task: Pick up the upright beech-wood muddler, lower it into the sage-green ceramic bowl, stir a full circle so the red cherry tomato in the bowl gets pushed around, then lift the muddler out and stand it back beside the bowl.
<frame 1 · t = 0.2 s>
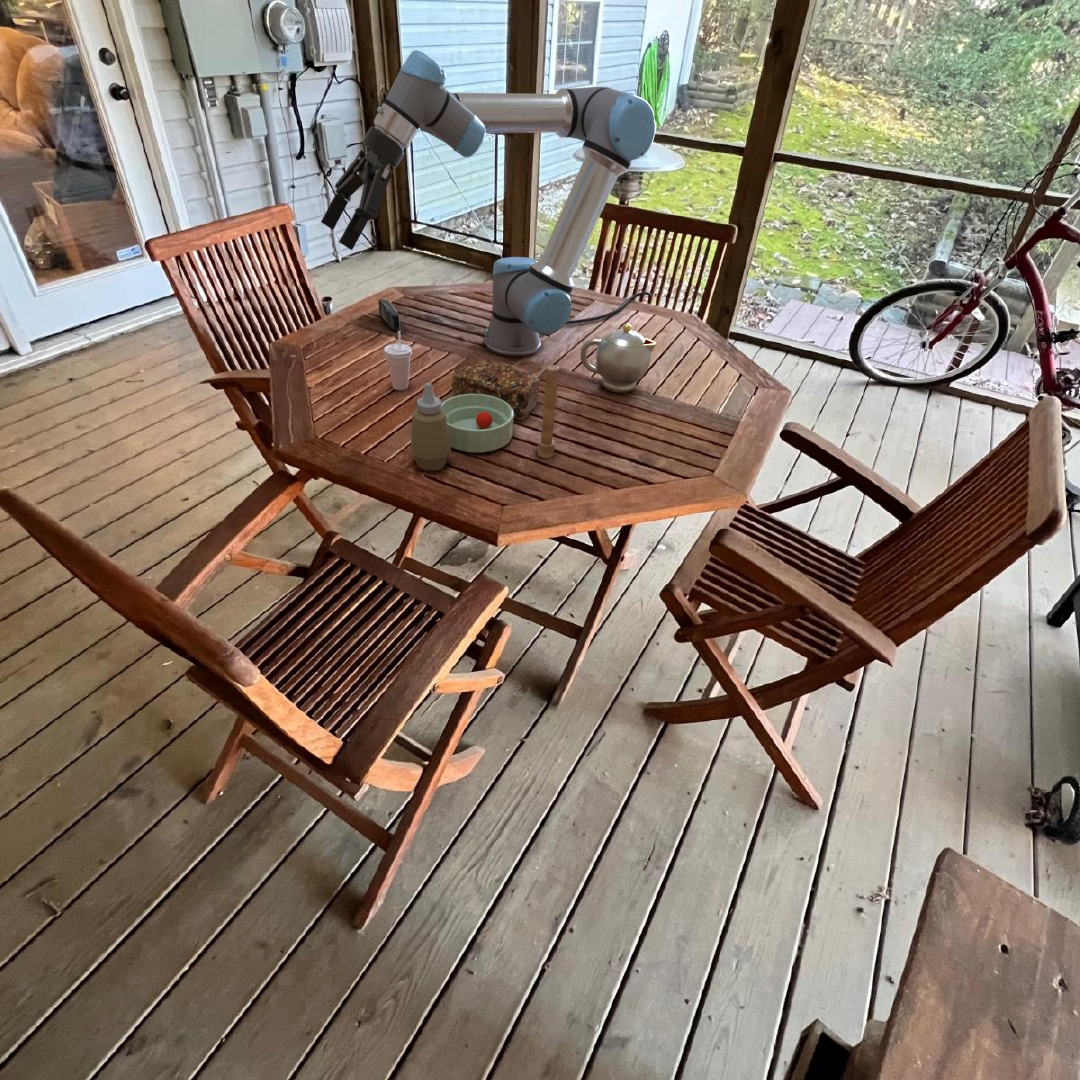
hand: (335, 235, 139), 36 cm above the table, tool tilted 35°, fingers open, 13 cm apart
smoothie: (400, 387, 167), on the table
cherry tomato: (484, 420, 152), point 3 cm above the table, touching bowl
muddler: (545, 453, 148), on the table
teapot: (612, 386, 175), on the table
bread: (495, 405, 163), on the table
dark grey tapered piece: (391, 324, 195), on the table
bowl: (475, 435, 151), on the table
squeeze bottle: (431, 464, 142), on the table
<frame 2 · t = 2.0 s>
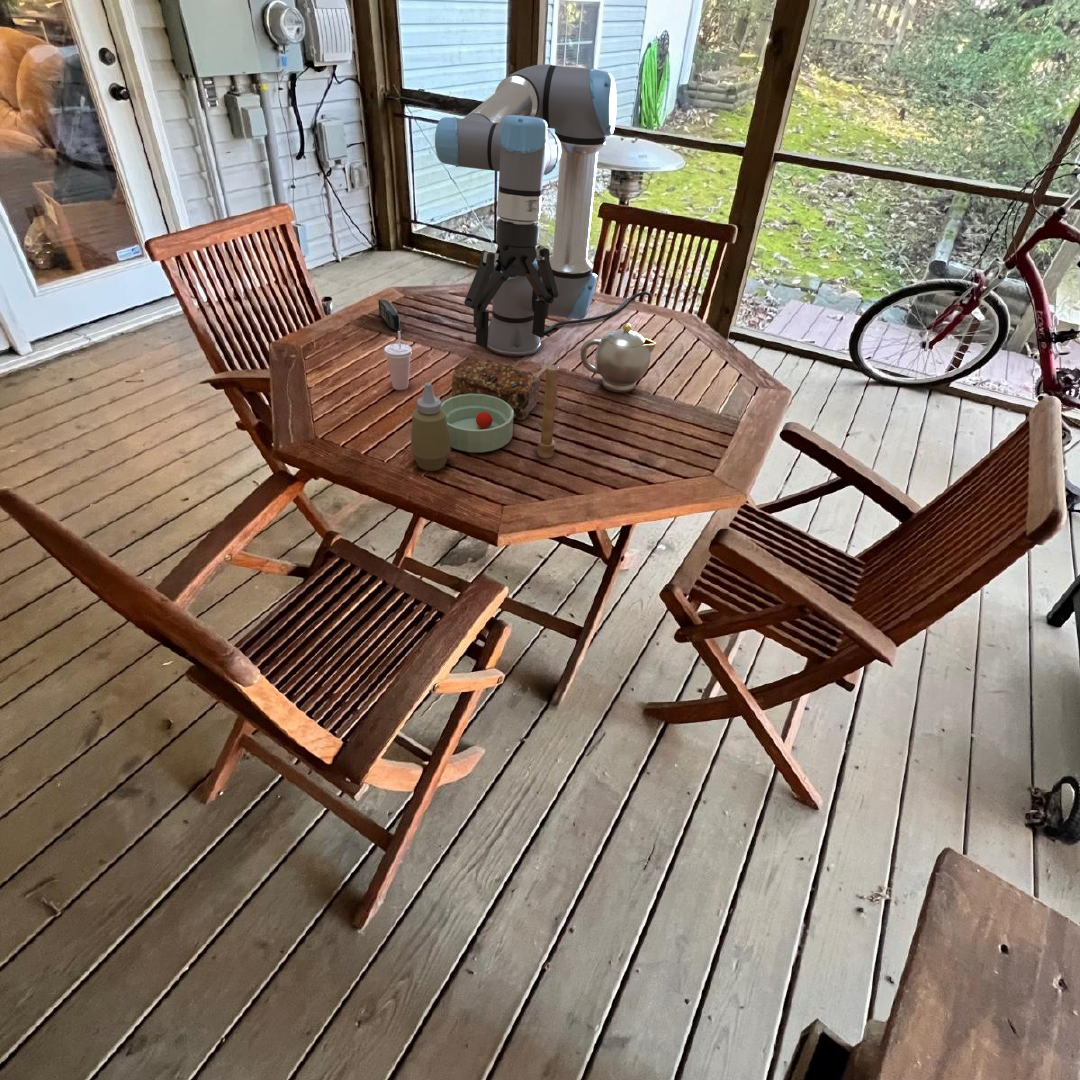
hand: (510, 340, 131), 25 cm above the table, tool pointing down, fingers open, 13 cm apart
nothing on the table moved.
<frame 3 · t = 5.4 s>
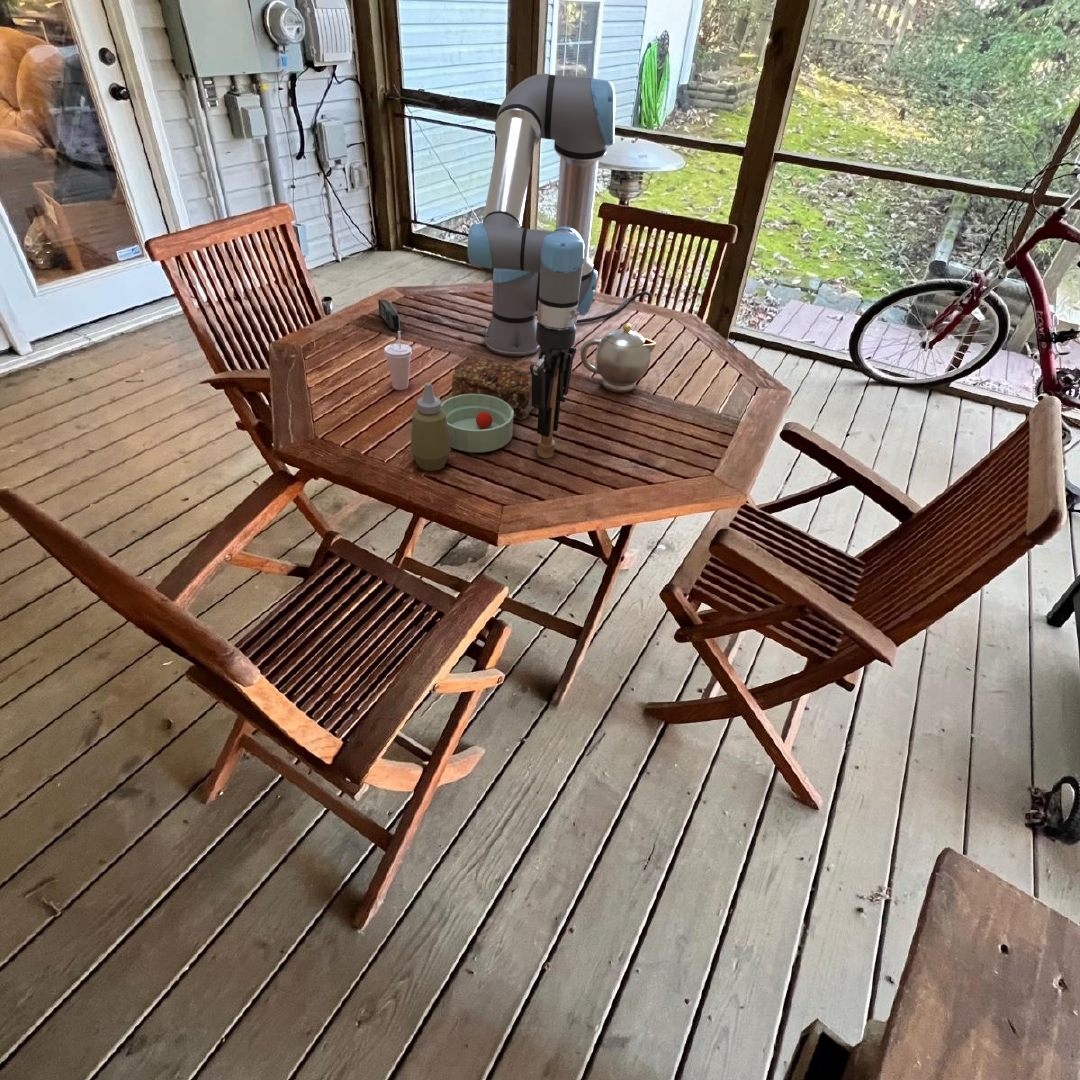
hand: (547, 431, 144), 6 cm above the table, tool pointing down, fingers closed on muddler, 2 cm apart
muddler: (545, 453, 148), on the table, touching gripper
everything else where it was.
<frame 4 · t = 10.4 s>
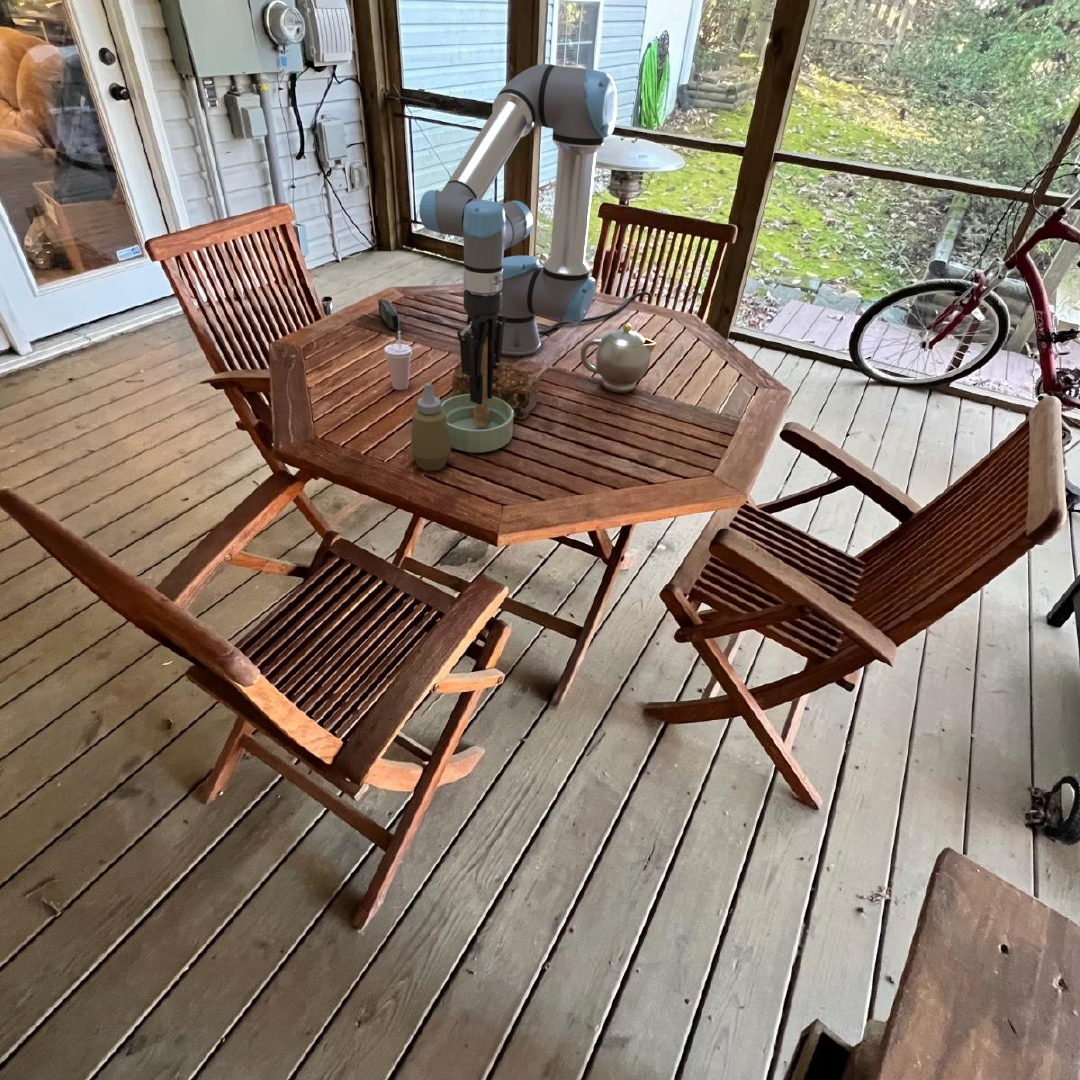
hand: (481, 399, 148), 8 cm above the table, tool pointing down, fingers closed on muddler, 3 cm apart
cherry tomato: (479, 414, 153), point 3 cm above the table, tilted 68°, touching bowl, muddler
muddler: (481, 423, 151), point 2 cm above the table, tilted 6°, touching cherry tomato, gripper
everything else where it was.
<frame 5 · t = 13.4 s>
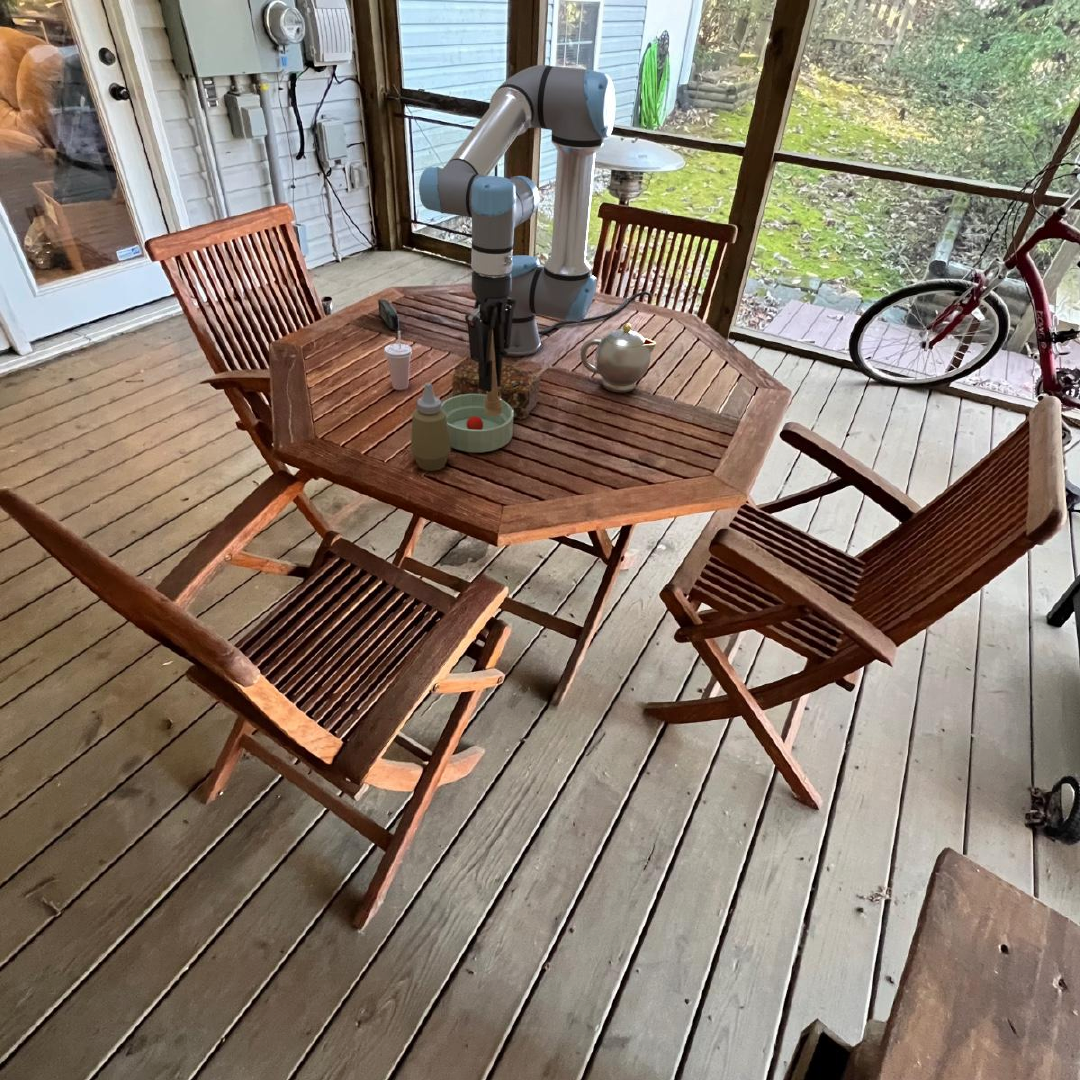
hand: (489, 386, 142), 13 cm above the table, tool pointing down, fingers closed on muddler, 2 cm apart
cherry tomato: (474, 424, 150), point 3 cm above the table, tilted 72°, touching bowl
muddler: (493, 411, 145), point 7 cm above the table, tilted 7°, touching gripper
everything else where it was.
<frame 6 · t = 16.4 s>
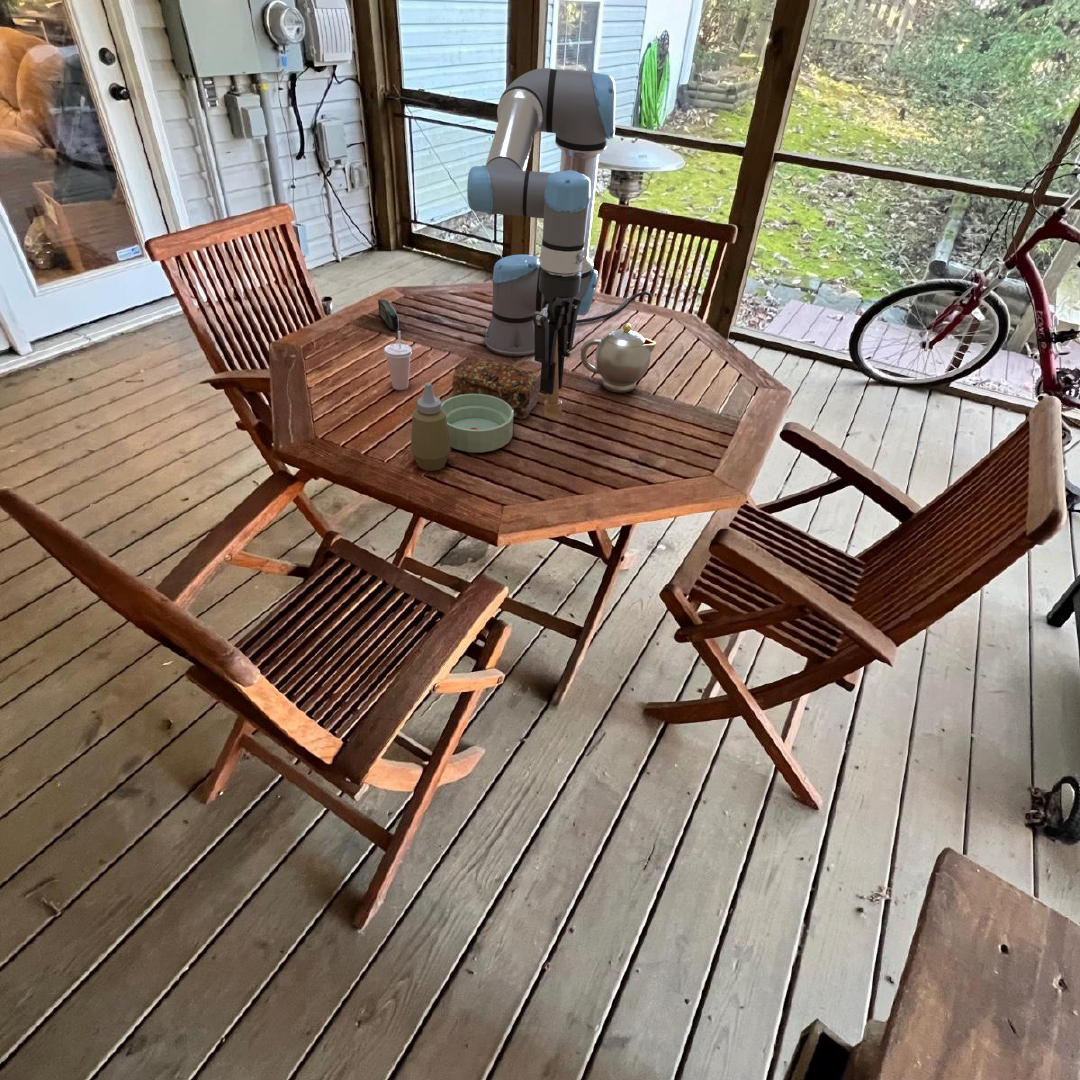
hand: (550, 389, 138), 15 cm above the table, tool pointing down, fingers closed on muddler, 2 cm apart
cherry tomato: (473, 436, 146), point 3 cm above the table, tilted 130°, touching bowl
muddler: (553, 415, 141), point 10 cm above the table, tilted 7°, touching gripper
everything else where it was.
when the fingers open (6 cm above the table, at t = 19.1 s): muddler stays where it is, on the table.
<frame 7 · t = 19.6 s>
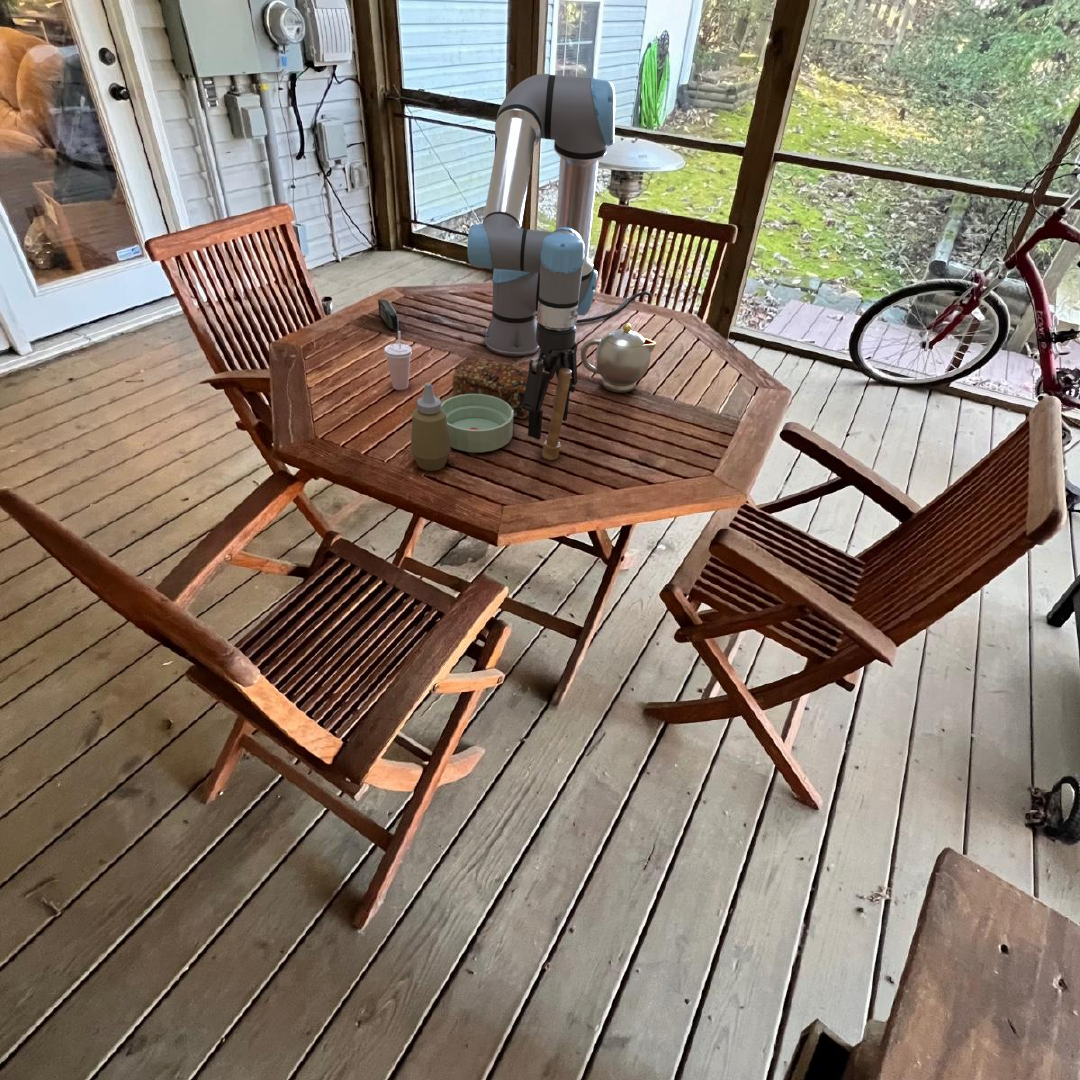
hand: (547, 427, 144), 6 cm above the table, tool pointing down, fingers open, 9 cm apart
muddler: (550, 455, 147), on the table
everything else where it was.
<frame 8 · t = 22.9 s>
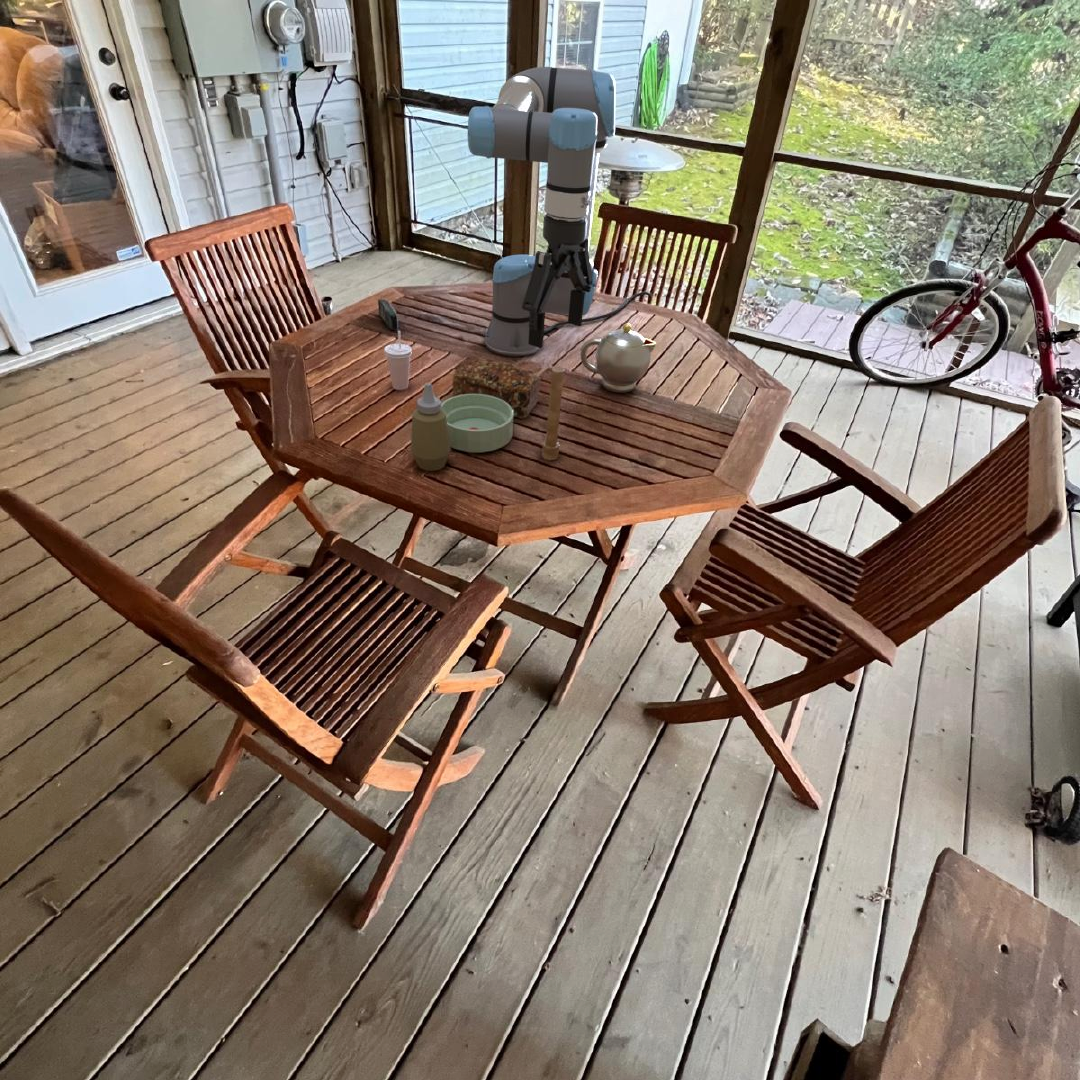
hand: (555, 334, 131), 27 cm above the table, tool pointing down, fingers open, 13 cm apart
at the end: cherry tomato moved 7.2 cm from its start; cherry tomato inside the target area in the bowl (4.5 cm from its centre), point 2.6 cm above the bowl's base; muddler inside the target area (1.2 cm from its centre), on the table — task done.
